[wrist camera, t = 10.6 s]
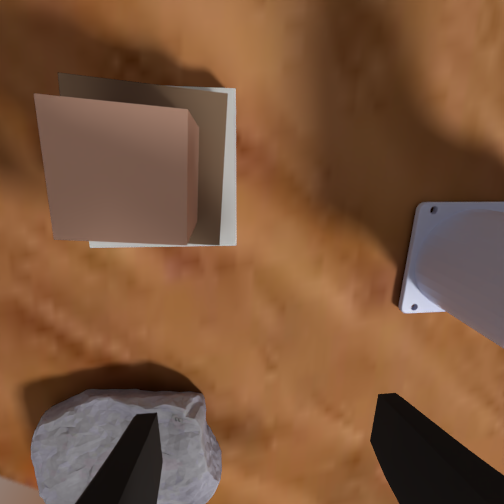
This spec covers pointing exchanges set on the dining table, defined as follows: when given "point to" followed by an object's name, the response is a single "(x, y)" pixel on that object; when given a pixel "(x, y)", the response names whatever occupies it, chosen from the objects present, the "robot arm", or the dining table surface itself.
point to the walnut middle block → (205, 115)
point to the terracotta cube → (119, 170)
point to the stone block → (108, 434)
